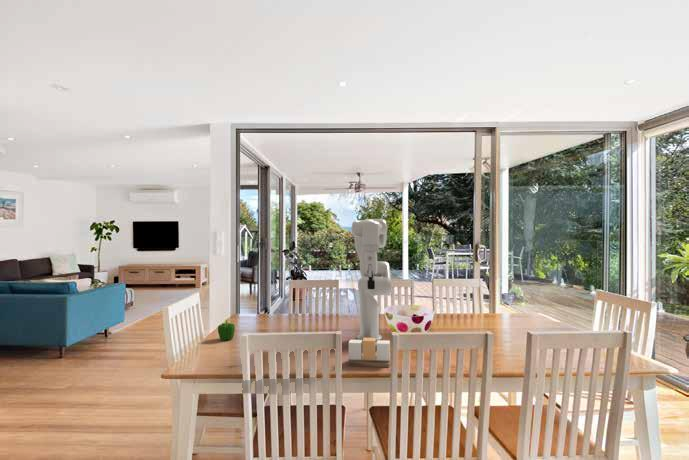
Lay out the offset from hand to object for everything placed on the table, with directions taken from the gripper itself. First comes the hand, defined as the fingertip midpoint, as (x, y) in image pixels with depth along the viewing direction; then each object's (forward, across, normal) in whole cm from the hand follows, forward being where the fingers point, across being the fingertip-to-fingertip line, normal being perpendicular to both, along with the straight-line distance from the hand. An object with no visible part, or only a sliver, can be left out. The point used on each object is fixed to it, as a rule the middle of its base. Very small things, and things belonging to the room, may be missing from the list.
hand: (371, 288), depth 192 cm
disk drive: (+30, +8, +4) cm, 31 cm away
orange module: (+27, -14, 0) cm, 31 cm away
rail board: (+29, -14, 0) cm, 32 cm away
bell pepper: (+29, +15, +76) cm, 83 cm away
